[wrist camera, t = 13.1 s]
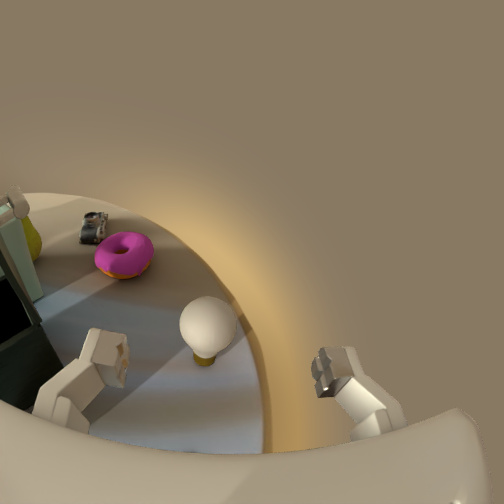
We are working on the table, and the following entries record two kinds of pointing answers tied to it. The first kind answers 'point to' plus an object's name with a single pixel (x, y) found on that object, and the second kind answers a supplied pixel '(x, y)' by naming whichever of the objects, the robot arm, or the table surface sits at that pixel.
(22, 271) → the green tall open box
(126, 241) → the donut
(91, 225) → the camera
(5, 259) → the bin lid
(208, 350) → the light bulb
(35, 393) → the dark green box
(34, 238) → the fruit
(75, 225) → the table surface
